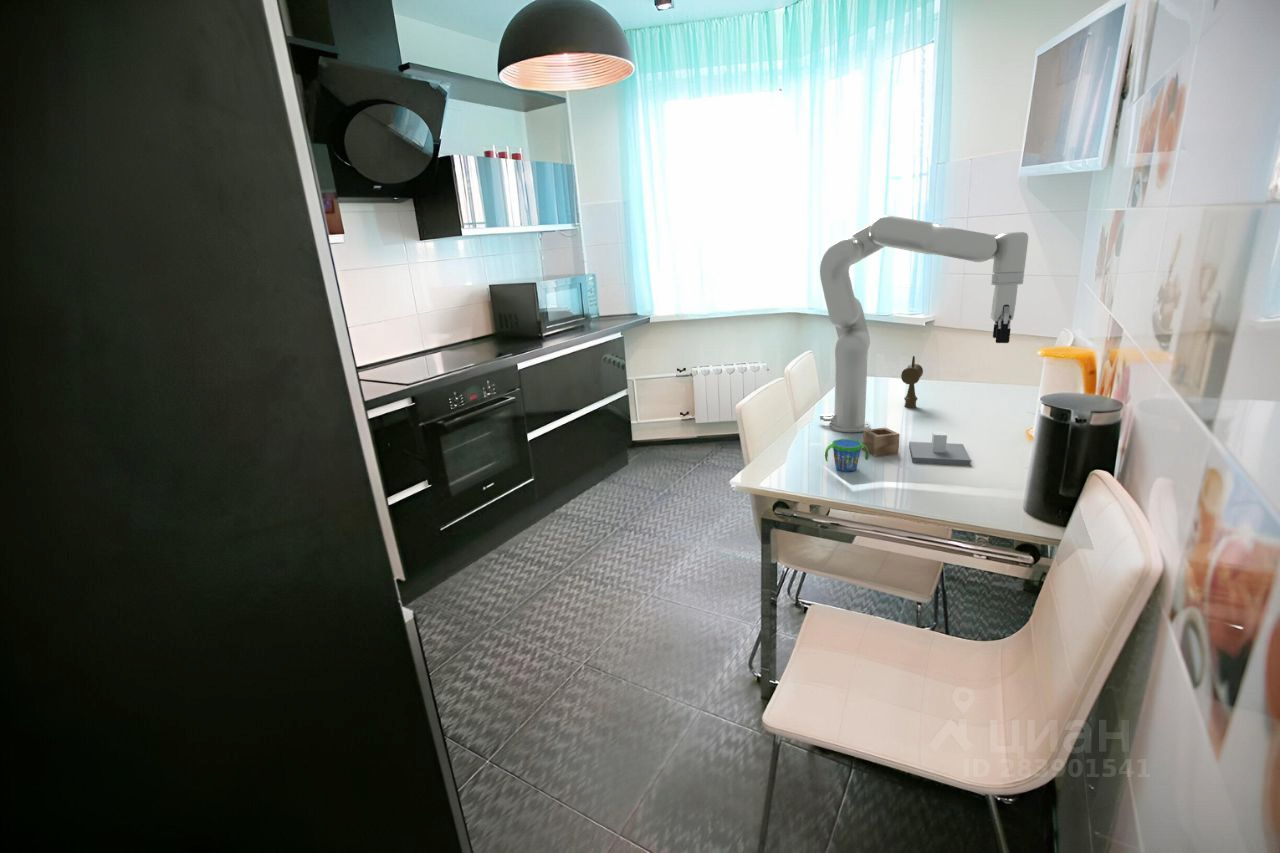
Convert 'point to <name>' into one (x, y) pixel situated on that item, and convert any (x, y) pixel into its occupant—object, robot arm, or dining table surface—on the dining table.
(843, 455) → the snack cup
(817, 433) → the dining table surface
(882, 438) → the brown wooden square box
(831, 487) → the dining table surface
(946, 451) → the board
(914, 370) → the kendama
